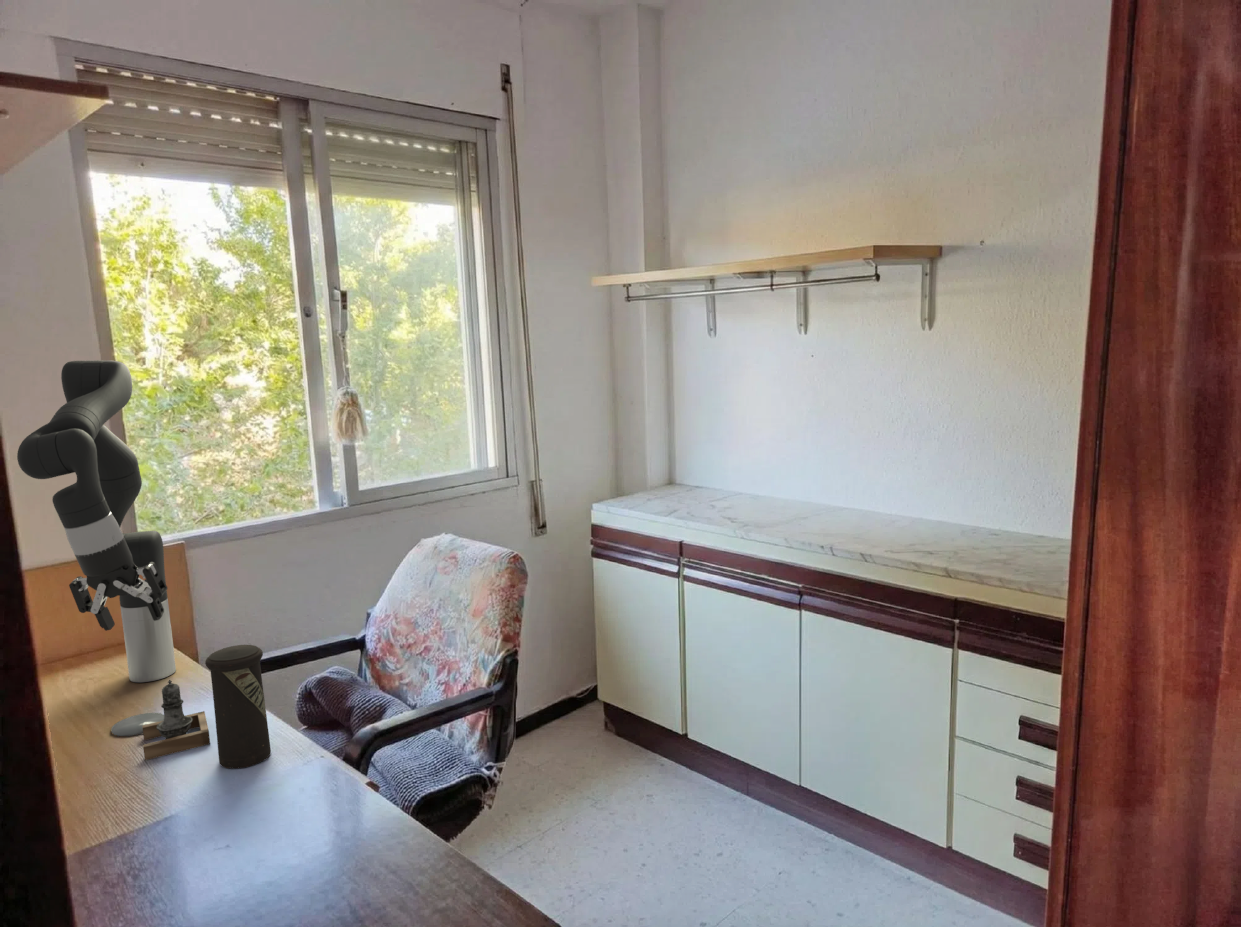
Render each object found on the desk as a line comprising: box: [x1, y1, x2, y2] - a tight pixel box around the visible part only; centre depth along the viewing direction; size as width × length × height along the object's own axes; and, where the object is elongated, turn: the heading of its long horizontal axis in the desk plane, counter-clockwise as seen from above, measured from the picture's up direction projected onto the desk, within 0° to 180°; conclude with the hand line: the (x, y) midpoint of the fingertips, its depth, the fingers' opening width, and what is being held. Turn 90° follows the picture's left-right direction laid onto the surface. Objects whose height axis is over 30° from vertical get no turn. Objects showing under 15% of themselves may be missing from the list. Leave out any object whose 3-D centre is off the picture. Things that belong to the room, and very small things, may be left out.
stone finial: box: [156, 679, 193, 739], centre depth 147 cm, size 6×6×12 cm
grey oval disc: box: [110, 712, 164, 737], centre depth 155 cm, size 9×9×1 cm
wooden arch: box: [142, 710, 211, 761], centre depth 148 cm, size 10×10×2 cm
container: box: [204, 644, 272, 769], centre depth 139 cm, size 9×9×20 cm
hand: (134, 623), depth 141 cm, fingers open, 8 cm apart
